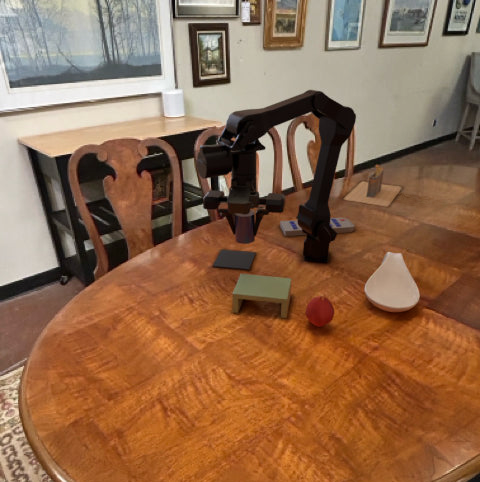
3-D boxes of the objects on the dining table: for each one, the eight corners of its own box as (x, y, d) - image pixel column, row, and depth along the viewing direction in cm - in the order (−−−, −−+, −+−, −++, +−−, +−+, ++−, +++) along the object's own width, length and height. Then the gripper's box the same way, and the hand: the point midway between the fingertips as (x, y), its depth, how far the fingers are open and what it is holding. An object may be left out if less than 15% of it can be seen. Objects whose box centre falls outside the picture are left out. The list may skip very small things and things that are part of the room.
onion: (302, 318, 91) (304, 287, 87) (328, 317, 92) (331, 286, 88) (308, 335, 86) (310, 303, 82) (335, 333, 87) (339, 301, 83)
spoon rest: (418, 324, 89) (424, 295, 85) (361, 315, 92) (365, 287, 89) (412, 271, 109) (418, 246, 105) (366, 265, 112) (369, 241, 108)
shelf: (290, 296, 99) (291, 278, 97) (286, 318, 91) (287, 299, 89) (241, 291, 101) (240, 273, 99) (232, 312, 94) (232, 293, 91)
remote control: (280, 226, 135) (280, 220, 134) (347, 222, 137) (348, 216, 136) (285, 236, 129) (285, 230, 127) (356, 232, 131) (356, 225, 129)
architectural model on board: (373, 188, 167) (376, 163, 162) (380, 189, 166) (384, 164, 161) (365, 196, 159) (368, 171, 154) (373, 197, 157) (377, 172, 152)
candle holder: (256, 236, 104) (256, 209, 101) (253, 244, 100) (253, 217, 97) (237, 235, 105) (236, 208, 102) (233, 243, 101) (232, 216, 97)
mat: (255, 253, 119) (255, 252, 119) (249, 270, 110) (249, 269, 110) (221, 250, 121) (221, 249, 120) (212, 267, 112) (212, 265, 112)
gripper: (194, 180, 89) (199, 246, 97) (281, 184, 86) (279, 252, 94) (207, 166, 98) (210, 227, 106) (286, 169, 95) (284, 231, 103)
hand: (244, 234), depth 102 cm, fingers closed on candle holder, 5 cm apart
